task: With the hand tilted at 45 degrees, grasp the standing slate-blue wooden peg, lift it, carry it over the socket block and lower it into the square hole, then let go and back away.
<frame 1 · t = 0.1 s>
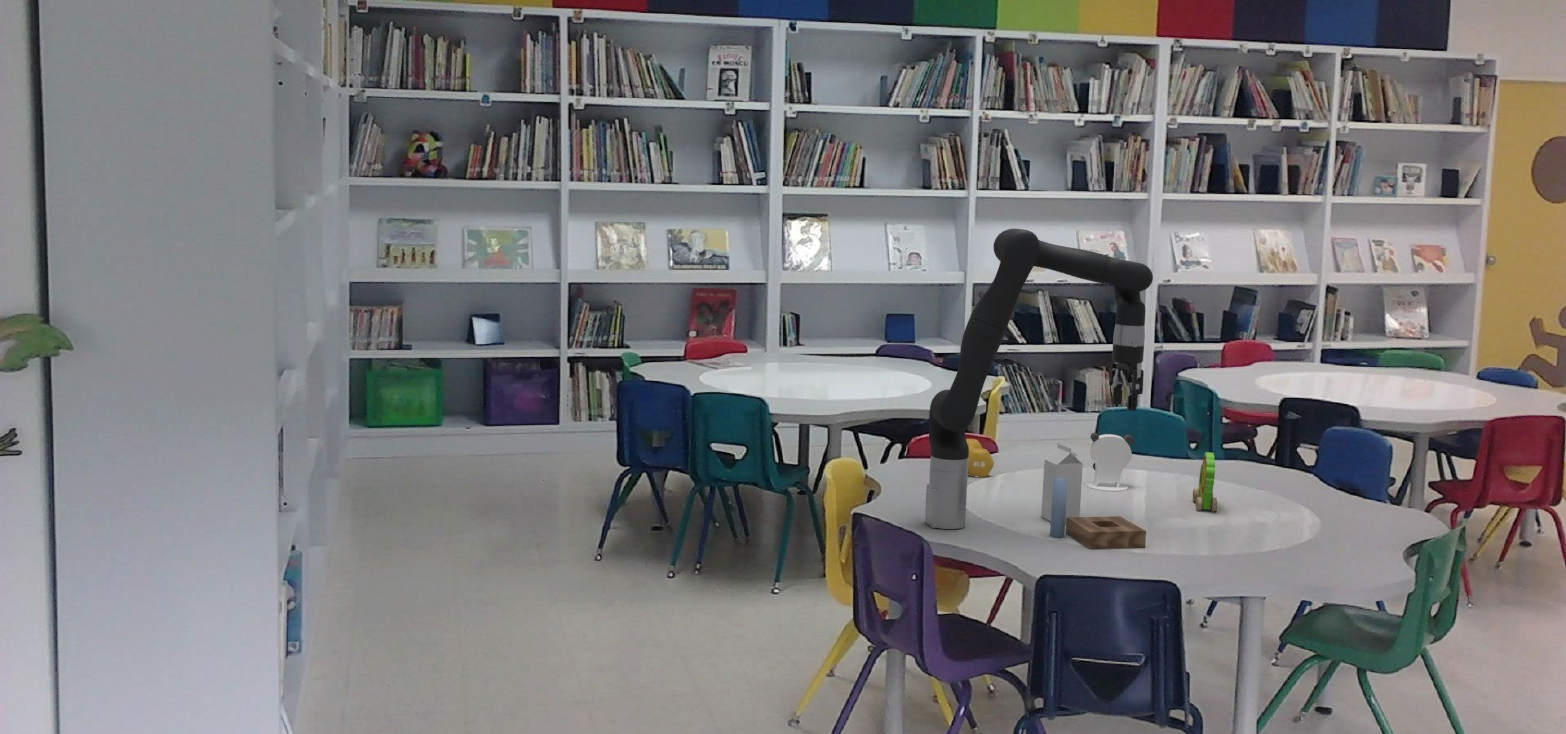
hand: (1124, 407, 343), 29 cm above the table, tool pointing down, fingers open, 8 cm apart
panda figurine: (1108, 487, 386), on the table
milk carton: (1060, 520, 347), on the table
peg: (1057, 535, 331), on the table
toy lion: (1204, 508, 365), on the table
socket: (1104, 540, 328), on the table
dumbbell: (972, 472, 402), on the table
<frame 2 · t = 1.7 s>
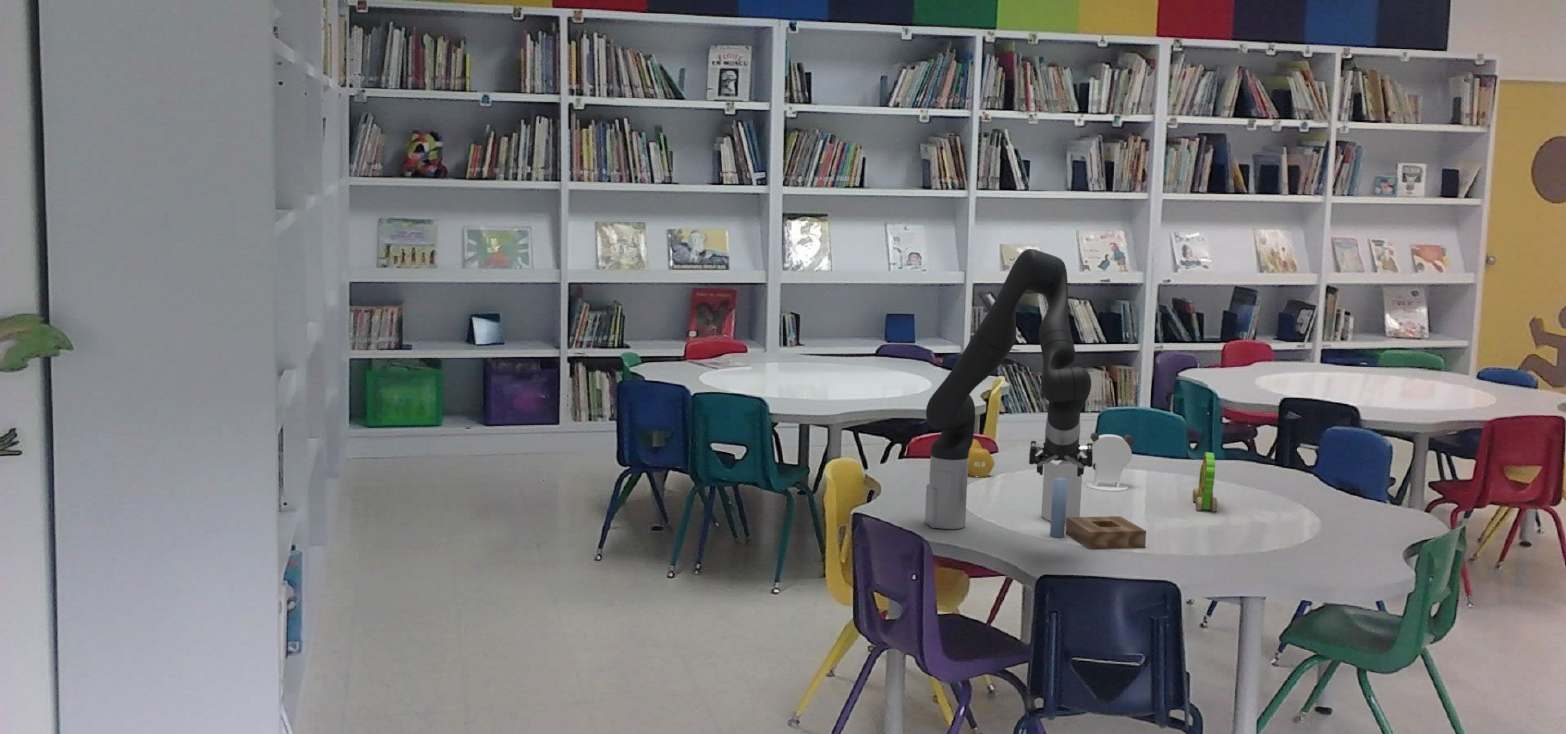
hand: (1059, 472, 319), 18 cm above the table, tool tilted 45°, fingers open, 8 cm apart
nothing on the table moved.
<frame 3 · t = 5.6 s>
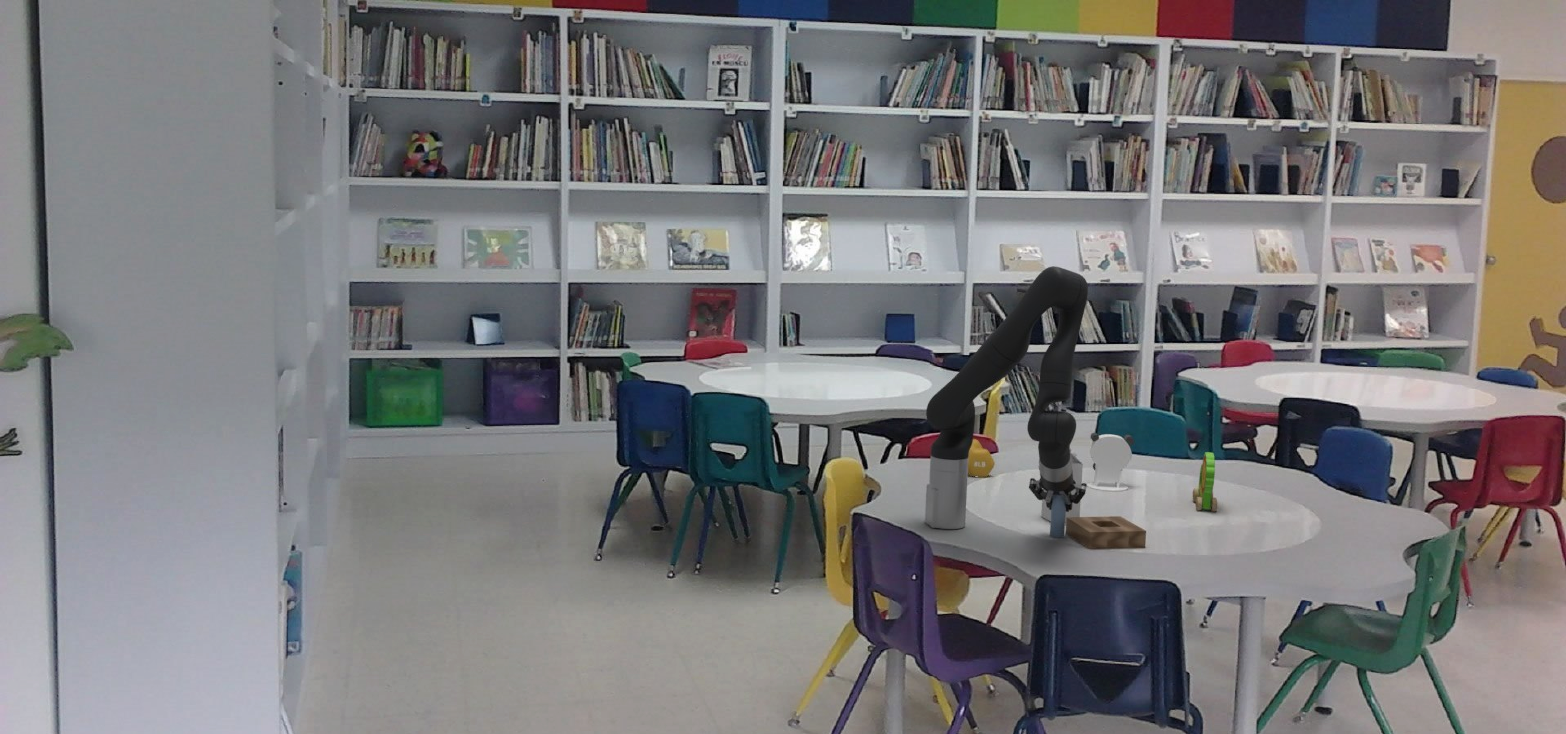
hand: (1059, 507, 332), 6 cm above the table, tool tilted 45°, fingers closed on peg, 3 cm apart
peg: (1056, 535, 331), on the table, touching gripper
everything else where it was.
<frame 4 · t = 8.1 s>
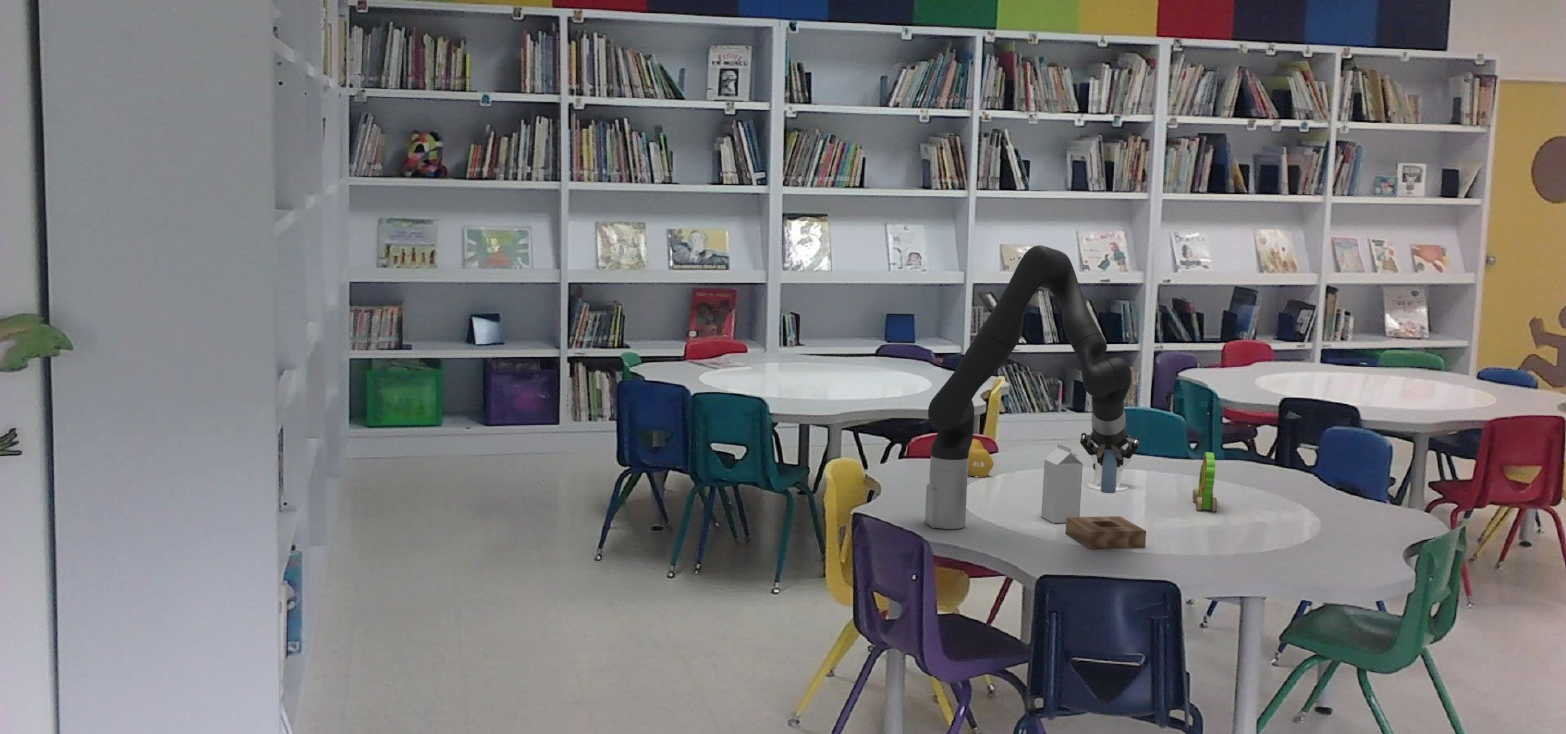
hand: (1110, 463, 327), 18 cm above the table, tool tilted 45°, fingers closed on peg, 3 cm apart
peg: (1108, 491, 326), point 12 cm above the table, touching gripper
everything else where it was.
when the fingers open (8 cm above the table, at t = 10.6 s): peg drops 1 cm, resting in socket.
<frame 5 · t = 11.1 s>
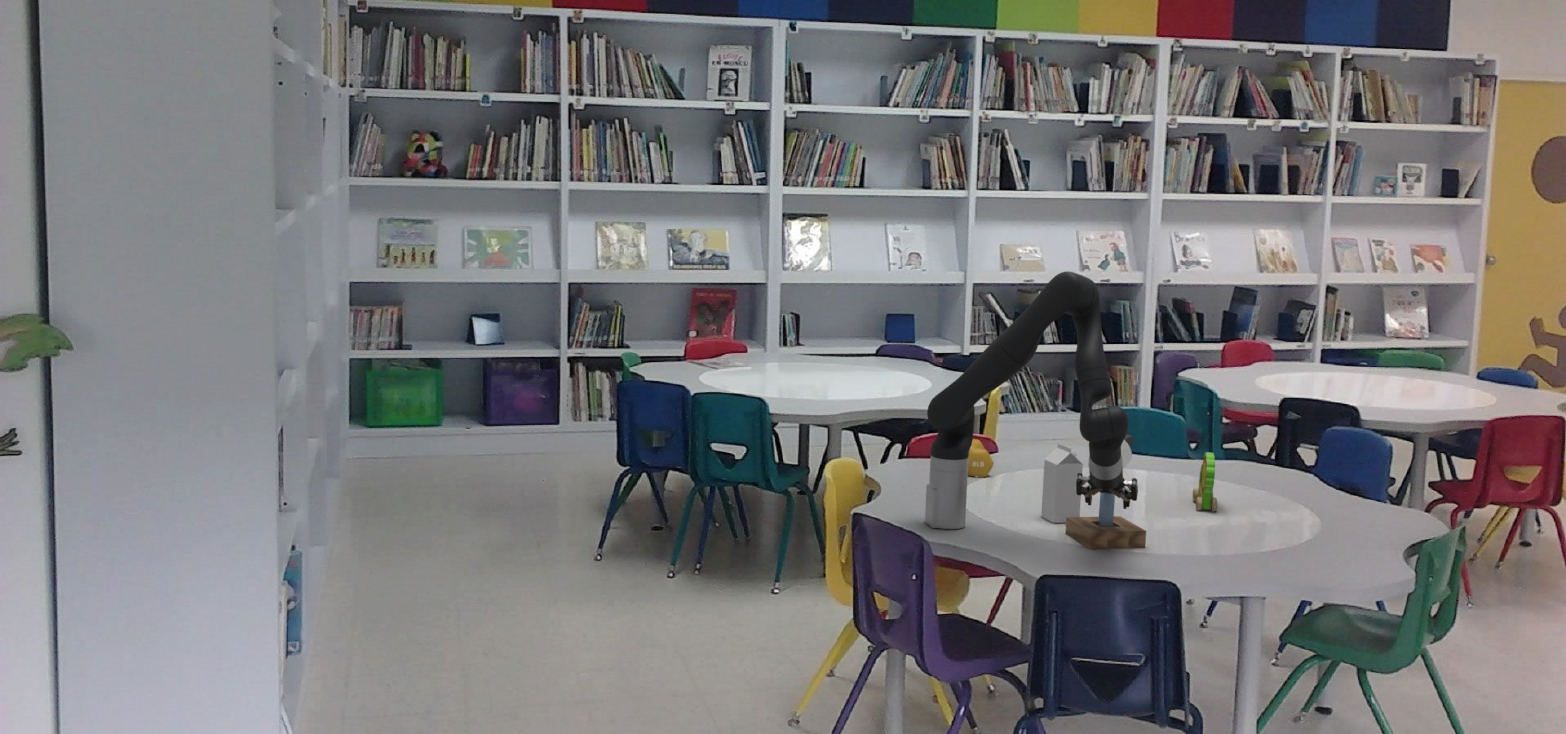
hand: (1107, 503, 328), 9 cm above the table, tool tilted 45°, fingers open, 8 cm apart
peg: (1104, 540, 328), resting in socket
everything else where it was.
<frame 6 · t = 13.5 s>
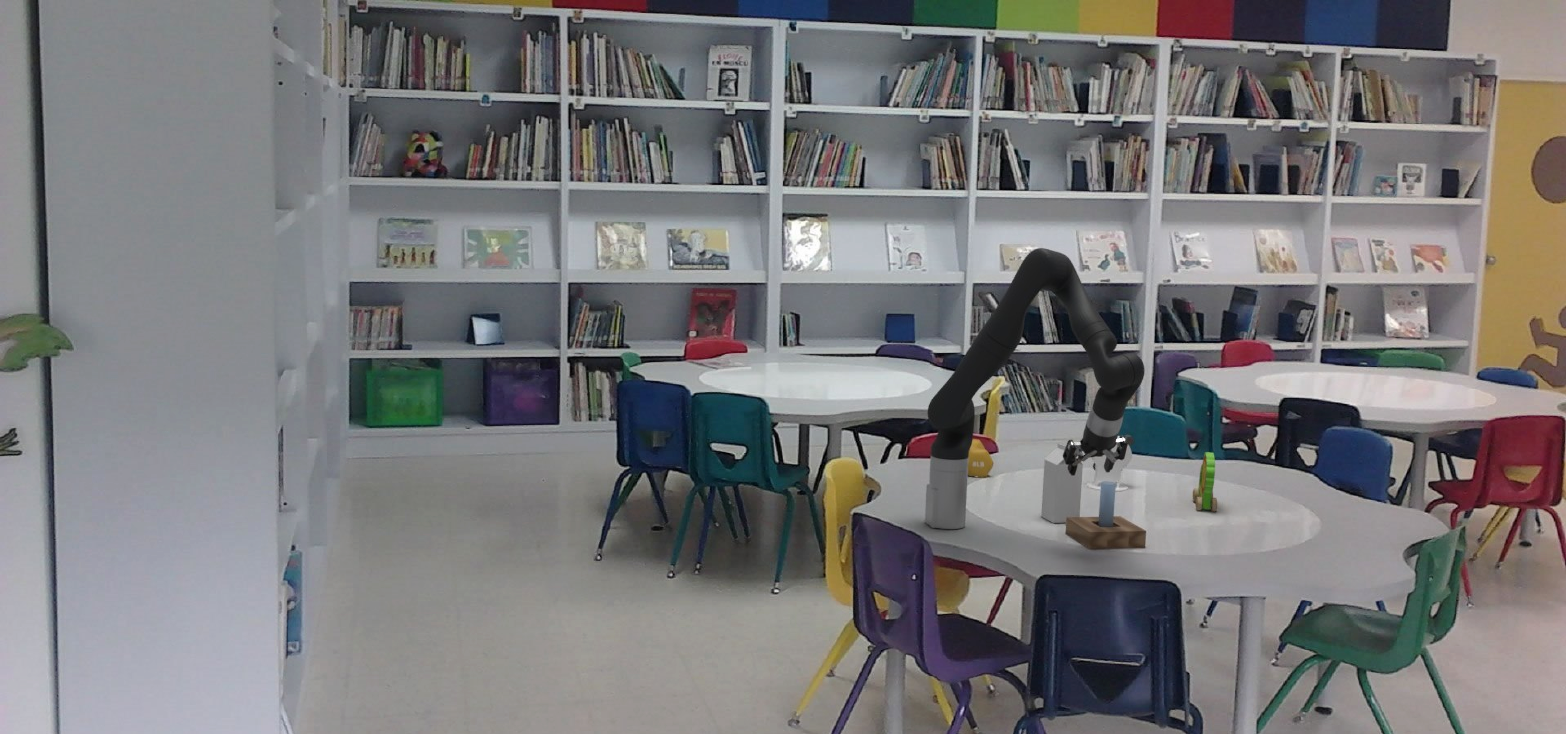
hand: (1088, 471, 322), 17 cm above the table, tool tilted 35°, fingers open, 8 cm apart
nothing on the table moved.
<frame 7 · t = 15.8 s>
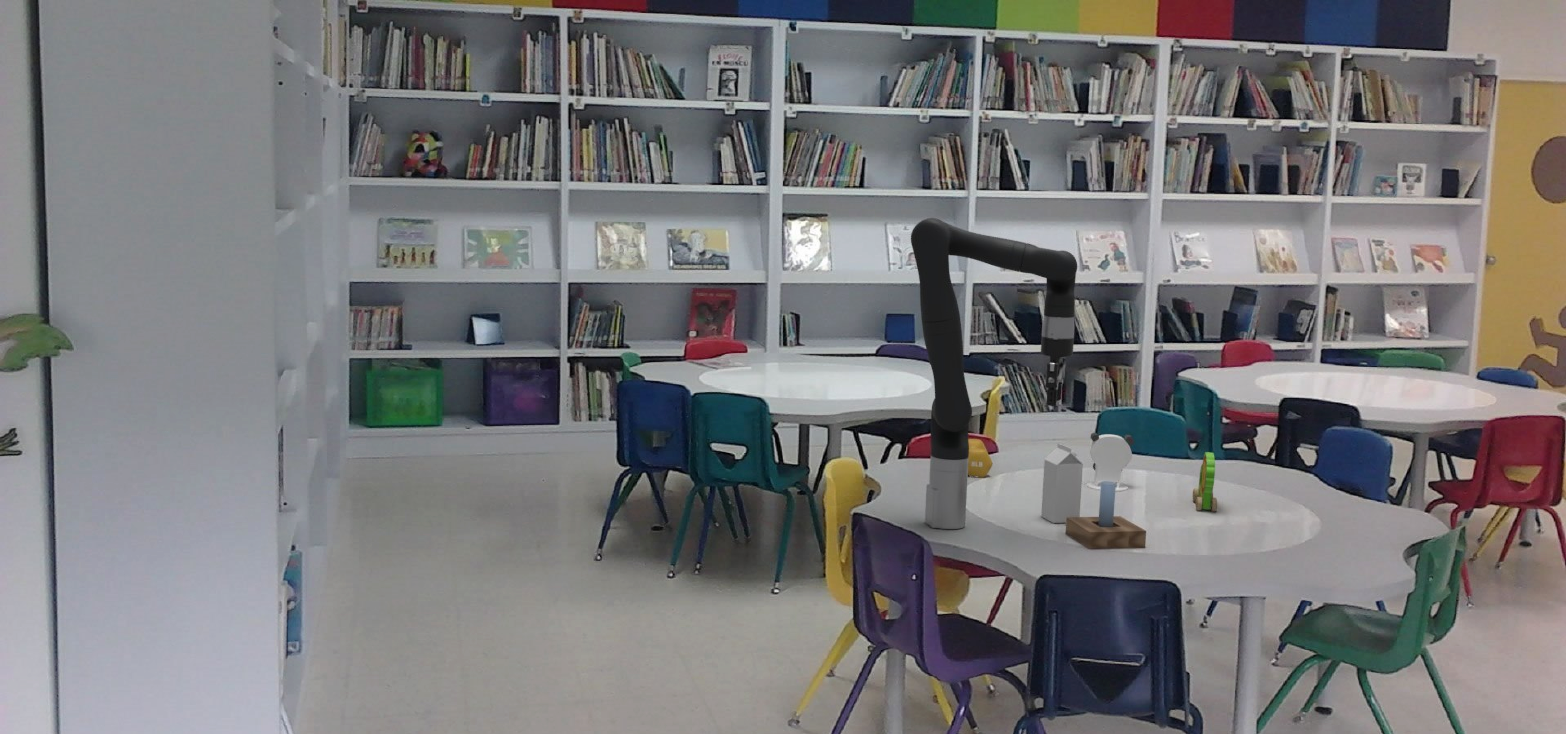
hand: (1053, 402, 328), 32 cm above the table, tool pointing down, fingers open, 8 cm apart
nothing on the table moved.
at the end: peg 0.1 cm off-centre on the socket, point 0.0 cm above the socket's base; peg tilted 0°; the gripper is holding nothing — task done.
